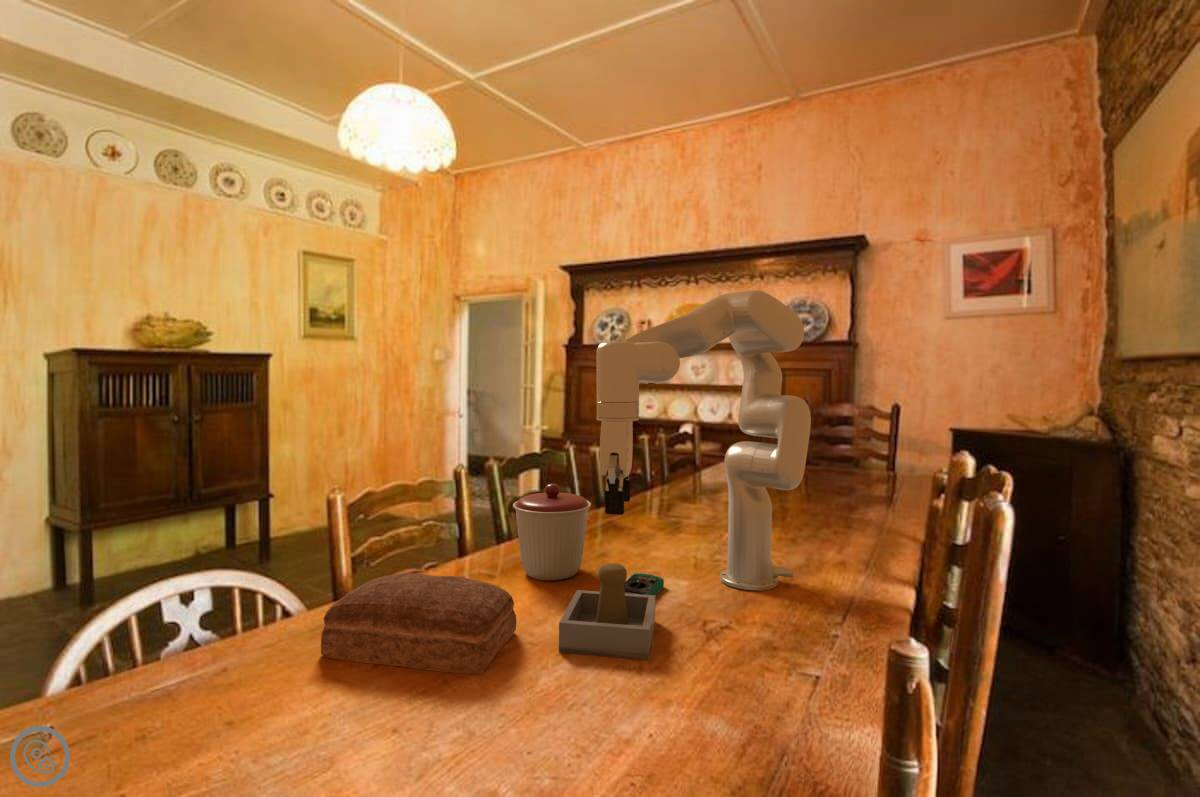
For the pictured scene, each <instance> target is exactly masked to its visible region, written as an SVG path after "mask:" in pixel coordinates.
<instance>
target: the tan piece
mask: <svg viewBox="0 0 1200 797" xmlns="http://www.w3.org/2000/svg"><path fill="white" fill-rule="evenodd" d="M627 575H628V572H627V569H626V567H625V566H624V565H622V564H620V563H613V562H610V563H609V562H607V563H603V565H601V566H600V567H599V569H598V571H597V578H598V581H599V583H600V588H599V589H600V590H599V592H600V595H599V602H598V610H597V617H596V622H597V623H610V624H623V625H629V624H628V616H627V607H626V599H625V590H624V583H625V582H626V581H627Z"/></svg>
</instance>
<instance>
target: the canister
mask: <svg viewBox="0 0 1200 797" xmlns="http://www.w3.org/2000/svg"><path fill="white" fill-rule="evenodd" d="M591 506H592V503H591V502H590V501H589V500H587V499H586V498H584V496H581V495H578V494H574V493H569V492H561V487H560V486H559V485H558V484H557V483H549V484H546V485H545V487H544V492H537V493H530V494H528V495H525V496H522V497H521V498H519V499H518V500H517V501H515V502H513V504H512V508H513V509H514V510H515V514H516V515H515V516H516V528H517V535H518V543H519V544H518V545H519V552H520V553H519V554H520V559H521V560H520V561H521V565H522V568H523V571H524V572H525V574H526V575H528V576H529V577H531V578H533V579H536V580H542V581H560V580H564V579H568V578H571V577H574V576H575V575H576V574H577V573H578V572H579V570H580V569H581V566H582V563H583V562H582V560H583V555H584V548H585V541H586V532H587V531H586V530H587V526H588V524H587V523H588V515H589V514H588V513H589V509H590V508H591Z"/></svg>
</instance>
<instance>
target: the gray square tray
mask: <svg viewBox="0 0 1200 797" xmlns="http://www.w3.org/2000/svg"><path fill="white" fill-rule="evenodd" d="M599 595H600V591H596V590H594V591H593V590H582V589H581V590H579V589H577V590H576V591H575V593H574V594H573V596H572V598H571V601H570V602H569V603H568V605H567V607H566V609H565V611H564V613H563V615H562V617H561V619H560V621H559V622H558V653H562V654H564V653H565V654H572V655H573V654H575V655H587V656H598V657H607V658H609V657H612V658H619V659H634V660H645V661H650V657H651V651H652V644H653V643H652V642H653V636H654V632H655V631H654V630H655V625H656V595H642V594H627V593H625V599H626V607H627V616H628V624H629V625H623V624H610V623H597V622H596V617H597V610H598V602H599Z"/></svg>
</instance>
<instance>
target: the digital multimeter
mask: <svg viewBox="0 0 1200 797" xmlns="http://www.w3.org/2000/svg"><path fill="white" fill-rule="evenodd" d="M664 581H665V580H664V579H663V578H662V577H660V576H658V575H653V574H650V573H649V574H647V573H637V572H636V573H633V574H632V575H631V576H630V577H629V578H628V579H626V581H625V583H624V590H625V593H627V594H642V595H655V596H656V595H658V594H659V592H661V590H663V589H664V587H665V586H664V583H665V582H664Z"/></svg>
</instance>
